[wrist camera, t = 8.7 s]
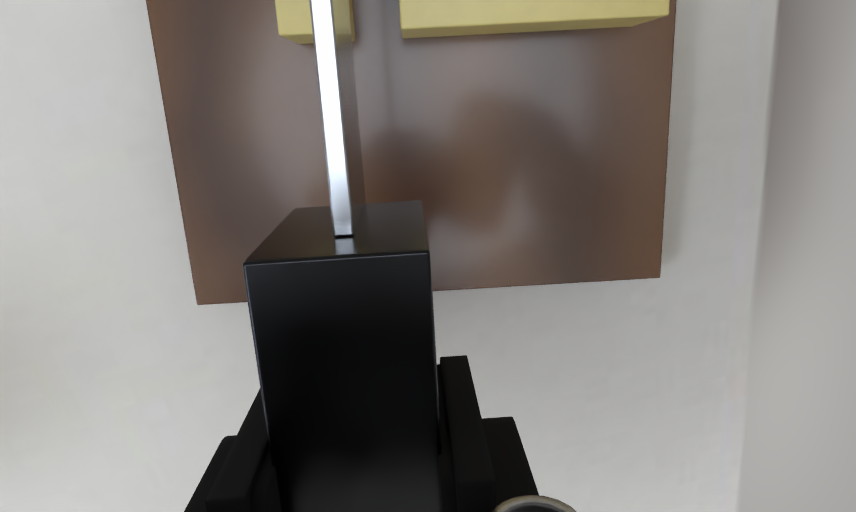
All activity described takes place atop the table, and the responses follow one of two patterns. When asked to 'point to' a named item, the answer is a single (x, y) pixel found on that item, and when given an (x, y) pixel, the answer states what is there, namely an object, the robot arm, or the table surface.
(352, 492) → the screwdriver
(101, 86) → the table surface
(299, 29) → the butter pat
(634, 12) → the butter
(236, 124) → the butter board
